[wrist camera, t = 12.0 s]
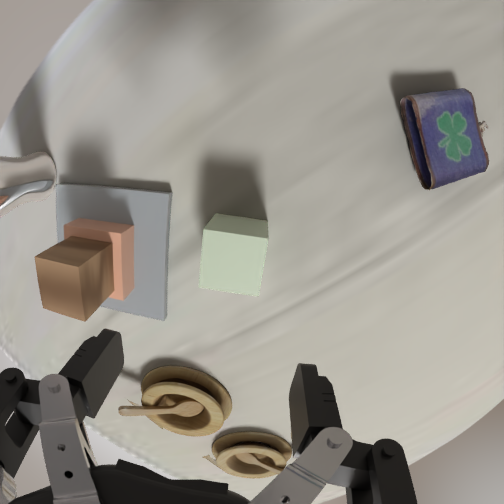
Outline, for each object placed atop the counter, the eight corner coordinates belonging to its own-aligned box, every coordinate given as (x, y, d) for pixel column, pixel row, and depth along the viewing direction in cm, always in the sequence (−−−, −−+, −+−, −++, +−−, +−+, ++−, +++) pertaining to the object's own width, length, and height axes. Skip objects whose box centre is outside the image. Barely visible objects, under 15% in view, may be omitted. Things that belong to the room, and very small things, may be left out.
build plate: (61, 183, 27) (39, 188, 23) (172, 192, 27) (158, 199, 24) (68, 293, 32) (51, 307, 28) (166, 316, 32) (156, 336, 28)
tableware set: (321, 446, 41) (325, 473, 35) (230, 473, 45) (228, 497, 40) (207, 338, 34) (198, 370, 28) (113, 386, 38) (99, 412, 32)
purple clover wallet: (408, 94, 20) (481, 86, 19) (393, 99, 23) (465, 89, 22) (434, 193, 23) (500, 169, 22) (418, 188, 26) (483, 166, 25)
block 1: (71, 235, 25) (34, 256, 19) (112, 242, 25) (78, 267, 19) (75, 281, 27) (43, 307, 21) (114, 290, 27) (85, 321, 21)
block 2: (215, 213, 28) (203, 229, 22) (267, 220, 28) (268, 238, 22) (210, 261, 30) (198, 287, 24) (259, 268, 30) (258, 296, 24)
